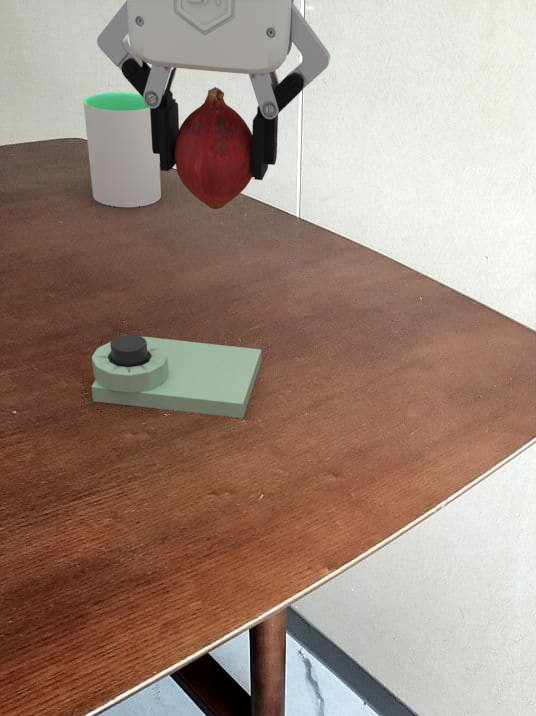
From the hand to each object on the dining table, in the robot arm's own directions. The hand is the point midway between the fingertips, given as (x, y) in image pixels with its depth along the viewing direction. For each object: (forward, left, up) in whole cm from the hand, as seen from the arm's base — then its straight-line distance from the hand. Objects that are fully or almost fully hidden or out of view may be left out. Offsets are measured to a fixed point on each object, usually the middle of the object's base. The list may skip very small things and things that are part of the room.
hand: (215, 167), depth 61 cm
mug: (-20, +42, -17) cm, 49 cm away
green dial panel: (-3, -1, -17) cm, 17 cm away
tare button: (-6, -4, -14) cm, 16 cm away
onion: (0, 0, -3) cm, 3 cm away
